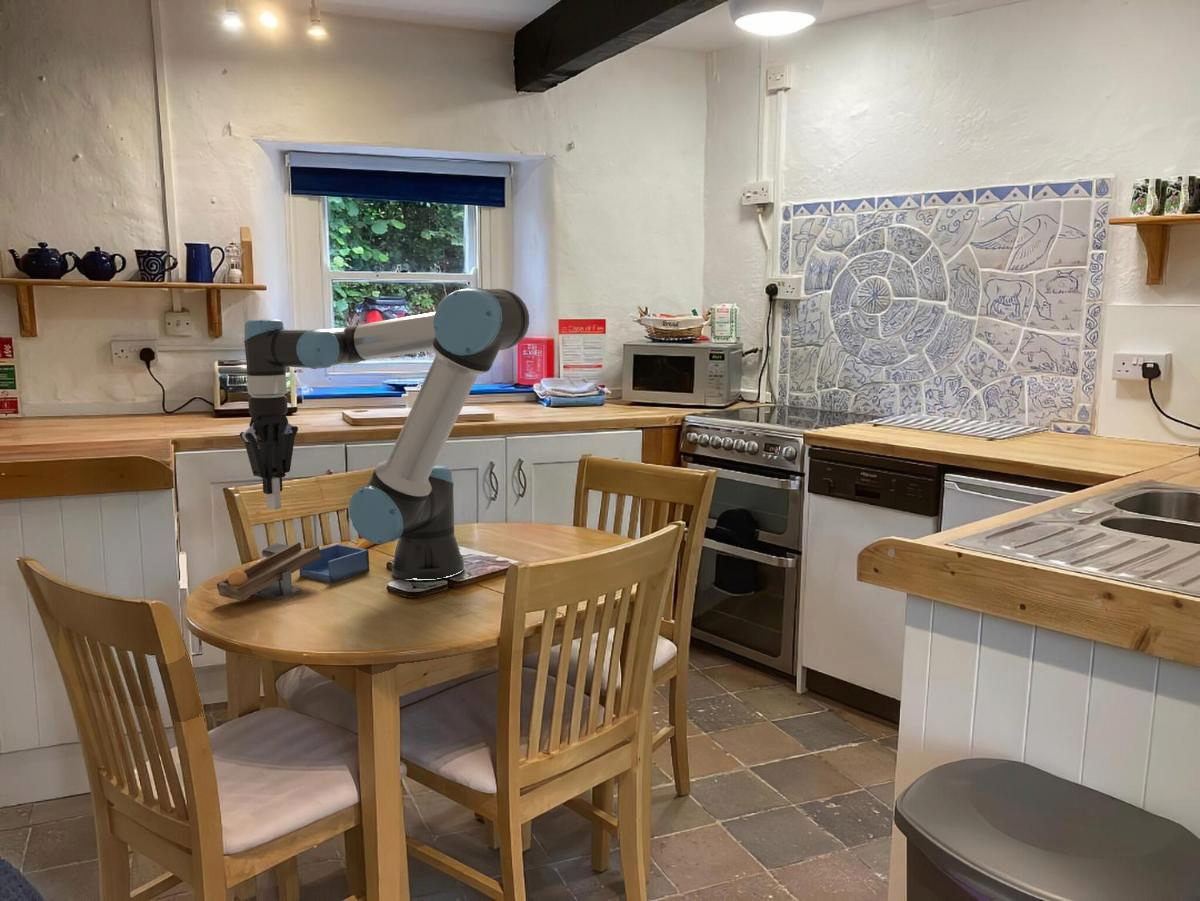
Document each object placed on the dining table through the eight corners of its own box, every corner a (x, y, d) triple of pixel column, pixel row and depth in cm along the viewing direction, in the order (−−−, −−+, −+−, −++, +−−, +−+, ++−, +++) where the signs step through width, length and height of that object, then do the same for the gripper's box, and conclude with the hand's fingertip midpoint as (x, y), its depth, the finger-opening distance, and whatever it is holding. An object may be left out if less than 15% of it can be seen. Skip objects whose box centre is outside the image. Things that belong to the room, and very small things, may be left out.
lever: (321, 557, 194) (318, 545, 193) (240, 600, 178) (237, 588, 177) (277, 548, 201) (275, 537, 200) (196, 589, 185) (193, 578, 185)
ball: (253, 583, 182) (248, 568, 181) (239, 593, 179) (233, 577, 178) (242, 581, 184) (236, 565, 183) (227, 590, 181) (221, 574, 180)
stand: (301, 592, 188) (299, 569, 187) (276, 600, 183) (274, 576, 182) (269, 585, 193) (268, 562, 192) (244, 592, 188) (242, 569, 187)
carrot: (387, 537, 235) (379, 521, 234) (402, 531, 233) (394, 515, 233) (344, 566, 216) (336, 549, 216) (360, 561, 215) (351, 543, 214)
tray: (369, 570, 203) (368, 549, 203) (331, 582, 194) (330, 561, 194) (338, 563, 208) (337, 544, 208) (299, 575, 200) (298, 555, 199)
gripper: (281, 391, 200) (287, 500, 204) (228, 397, 190) (235, 512, 193) (305, 393, 196) (310, 504, 200) (252, 399, 186) (259, 516, 189)
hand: (273, 508), depth 197 cm, fingers closed
